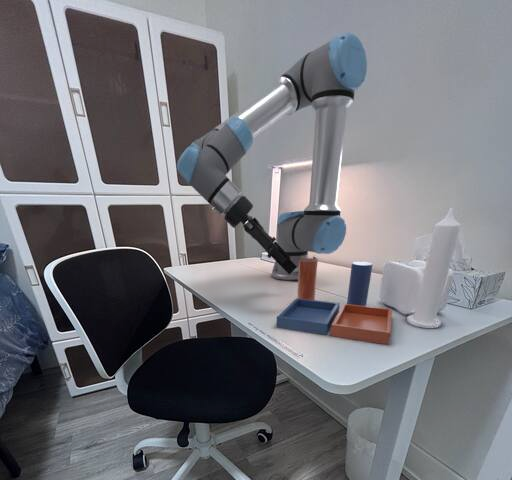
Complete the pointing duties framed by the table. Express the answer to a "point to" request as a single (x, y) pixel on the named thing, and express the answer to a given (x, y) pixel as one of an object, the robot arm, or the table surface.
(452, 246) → the candle
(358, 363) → the table surface
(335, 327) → the terracotta tray
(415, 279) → the cable organizer
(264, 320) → the table surface
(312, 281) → the terracotta pillar
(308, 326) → the blue tray
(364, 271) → the blue pillar
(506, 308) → the table surface
